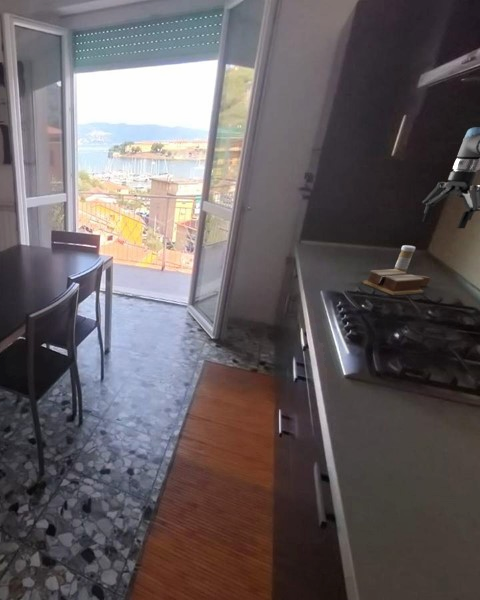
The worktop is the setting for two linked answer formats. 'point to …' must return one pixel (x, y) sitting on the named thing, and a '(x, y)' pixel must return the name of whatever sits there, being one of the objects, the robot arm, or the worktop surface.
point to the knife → (425, 280)
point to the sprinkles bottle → (404, 257)
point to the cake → (395, 282)
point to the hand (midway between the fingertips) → (442, 224)
